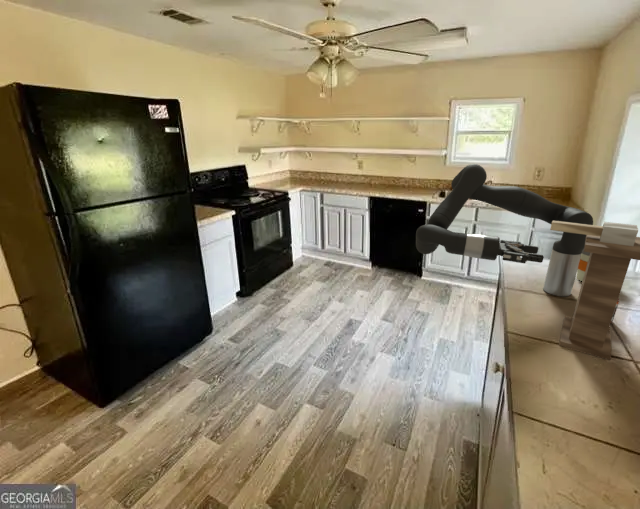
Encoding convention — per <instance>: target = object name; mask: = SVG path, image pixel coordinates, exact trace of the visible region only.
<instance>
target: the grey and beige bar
mask: <svg viewBox="0 0 640 509" xmlns="http://www.w3.org/2000/svg"><path fill="white" fill-rule="evenodd" d="M550 231H556V232H562V233H563V232H569V233H577V234H585V235H592V236H600V242H606V243H613V244H620V245H627V246H634V243H635V240H636V237H638V232H639V228H638V225H637V224H631V223H630V224H629V223H620V222H613V221H612V222H611V221H603V225H596V224H595V225H594V224H593V225H587V224H578V223H570V222H561V221H552V224H550Z"/></svg>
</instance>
